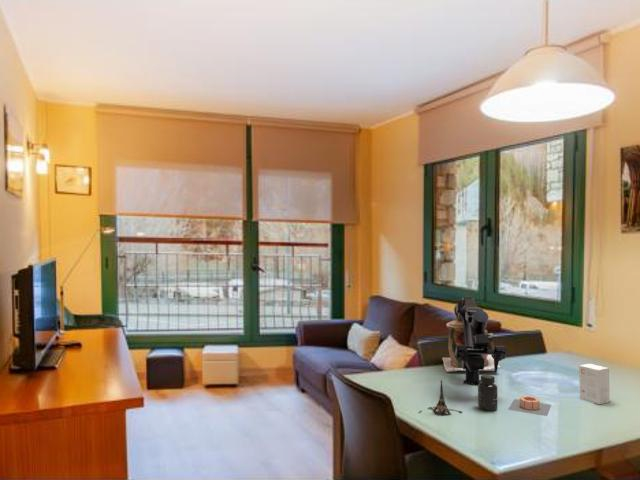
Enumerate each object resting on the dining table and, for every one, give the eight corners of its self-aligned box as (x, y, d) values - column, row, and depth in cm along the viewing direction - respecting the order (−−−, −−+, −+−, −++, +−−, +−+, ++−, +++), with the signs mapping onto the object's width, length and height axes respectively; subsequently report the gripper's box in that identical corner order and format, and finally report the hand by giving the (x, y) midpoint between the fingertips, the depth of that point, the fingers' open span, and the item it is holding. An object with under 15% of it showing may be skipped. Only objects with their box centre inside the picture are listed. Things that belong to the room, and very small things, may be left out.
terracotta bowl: (521, 402, 181) (521, 394, 181) (540, 405, 177) (540, 397, 177) (518, 408, 175) (518, 400, 175) (538, 411, 172) (538, 403, 172)
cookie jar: (441, 360, 246) (436, 298, 246) (491, 358, 242) (486, 295, 242) (446, 373, 221) (440, 304, 222) (501, 371, 217) (495, 301, 218)
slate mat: (514, 399, 185) (514, 399, 185) (551, 405, 178) (551, 404, 178) (507, 410, 174) (507, 409, 174) (547, 416, 167) (547, 416, 167)
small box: (610, 402, 181) (609, 367, 181) (599, 405, 178) (598, 370, 178) (589, 396, 189) (589, 363, 189) (579, 398, 186) (578, 365, 186)
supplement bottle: (499, 413, 171) (498, 379, 171) (479, 412, 173) (478, 378, 173) (496, 406, 178) (495, 374, 178) (476, 405, 179) (476, 373, 179)
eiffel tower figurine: (468, 414, 172) (467, 377, 172) (458, 423, 164) (458, 384, 164) (428, 406, 181) (428, 370, 181) (417, 414, 172) (417, 377, 172)
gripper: (456, 324, 188) (460, 360, 178) (505, 325, 185) (512, 362, 175) (453, 339, 196) (457, 374, 186) (501, 340, 193) (507, 376, 183)
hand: (483, 371), depth 182 cm, fingers open, 9 cm apart
